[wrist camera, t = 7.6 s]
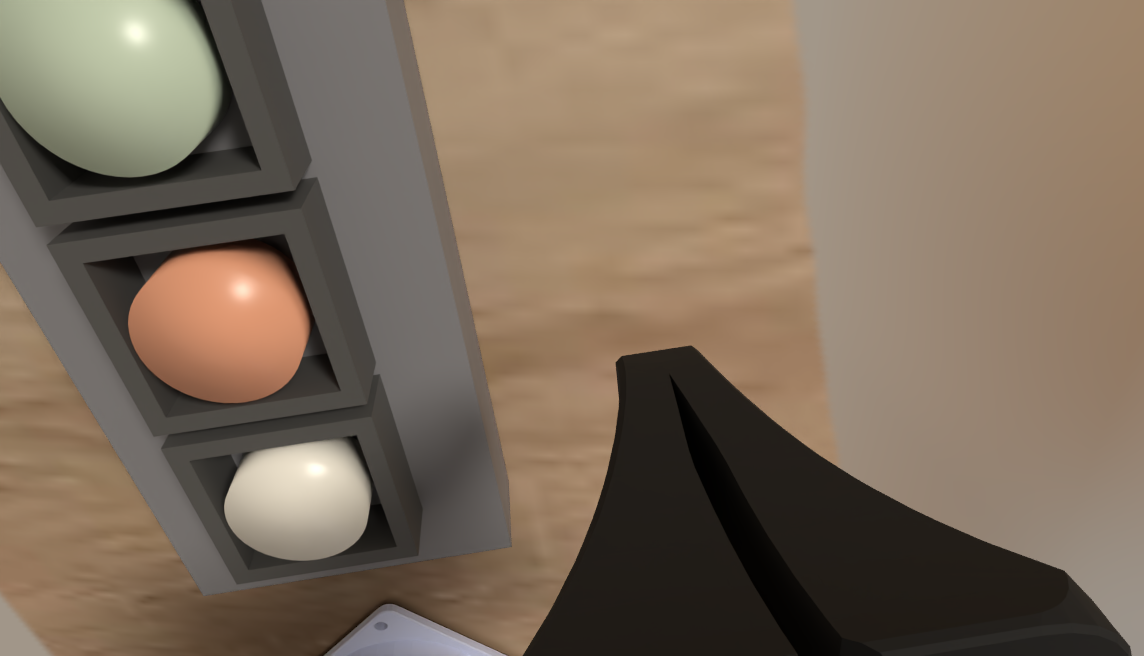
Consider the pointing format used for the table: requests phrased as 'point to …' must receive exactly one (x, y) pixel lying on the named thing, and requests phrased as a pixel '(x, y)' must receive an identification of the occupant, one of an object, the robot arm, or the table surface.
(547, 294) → the table surface
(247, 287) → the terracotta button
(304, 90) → the charcoal button panel
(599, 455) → the table surface
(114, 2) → the sage button
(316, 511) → the cream button
